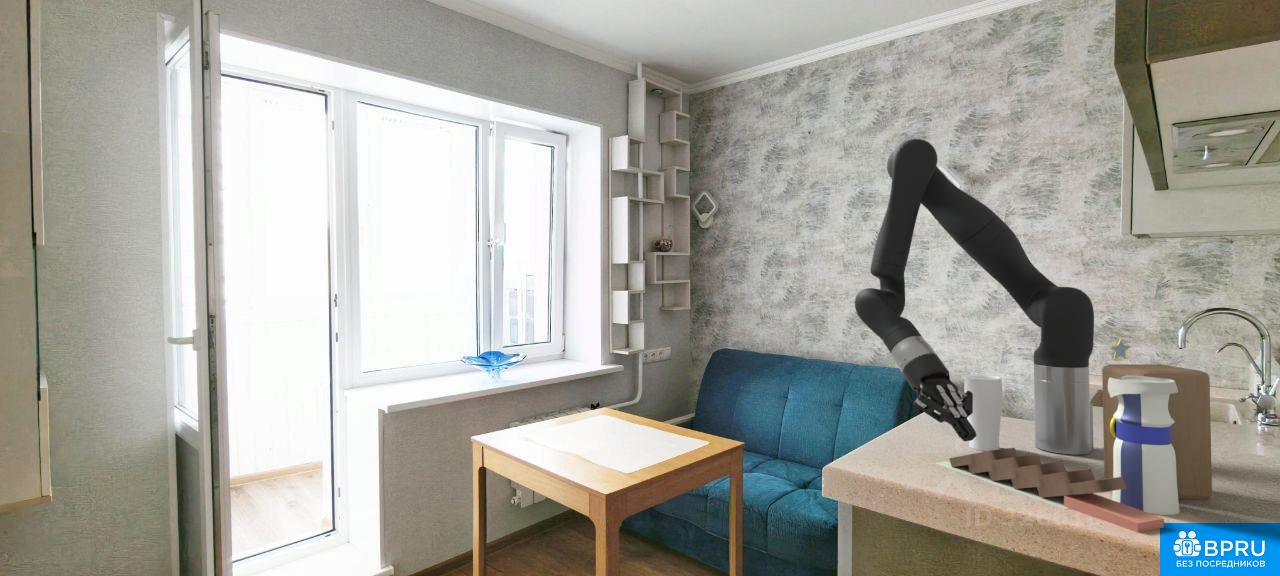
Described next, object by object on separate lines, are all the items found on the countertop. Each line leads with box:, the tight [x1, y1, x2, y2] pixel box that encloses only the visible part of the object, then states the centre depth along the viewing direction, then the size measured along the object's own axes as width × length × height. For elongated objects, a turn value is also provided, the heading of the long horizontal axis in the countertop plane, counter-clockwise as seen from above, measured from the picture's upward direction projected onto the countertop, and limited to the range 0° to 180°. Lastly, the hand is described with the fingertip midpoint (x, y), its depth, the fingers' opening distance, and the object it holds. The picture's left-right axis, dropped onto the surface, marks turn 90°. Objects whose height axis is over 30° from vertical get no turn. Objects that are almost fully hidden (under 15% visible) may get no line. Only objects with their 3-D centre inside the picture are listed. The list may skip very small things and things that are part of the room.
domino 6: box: [1064, 493, 1165, 533], centre depth 84 cm, size 5×2×10 cm
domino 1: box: [948, 447, 1018, 467], centre depth 105 cm, size 5×2×10 cm
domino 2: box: [968, 453, 1042, 474], centre depth 101 cm, size 5×2×10 cm
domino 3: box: [988, 460, 1068, 481], centre depth 97 cm, size 5×2×10 cm
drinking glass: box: [963, 374, 1003, 452], centre depth 121 cm, size 7×7×15 cm
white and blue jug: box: [1108, 338, 1180, 516], centre depth 88 cm, size 8×9×25 cm
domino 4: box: [1011, 468, 1096, 489], centre depth 93 cm, size 5×2×10 cm
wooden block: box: [1101, 363, 1213, 501], centre depth 96 cm, size 10×10×20 cm
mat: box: [934, 460, 1071, 510], centre depth 100 cm, size 7×25×1 cm, turn 17°
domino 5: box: [1037, 477, 1127, 498], centre depth 88 cm, size 5×2×10 cm
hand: (970, 438), depth 107 cm, fingers closed
